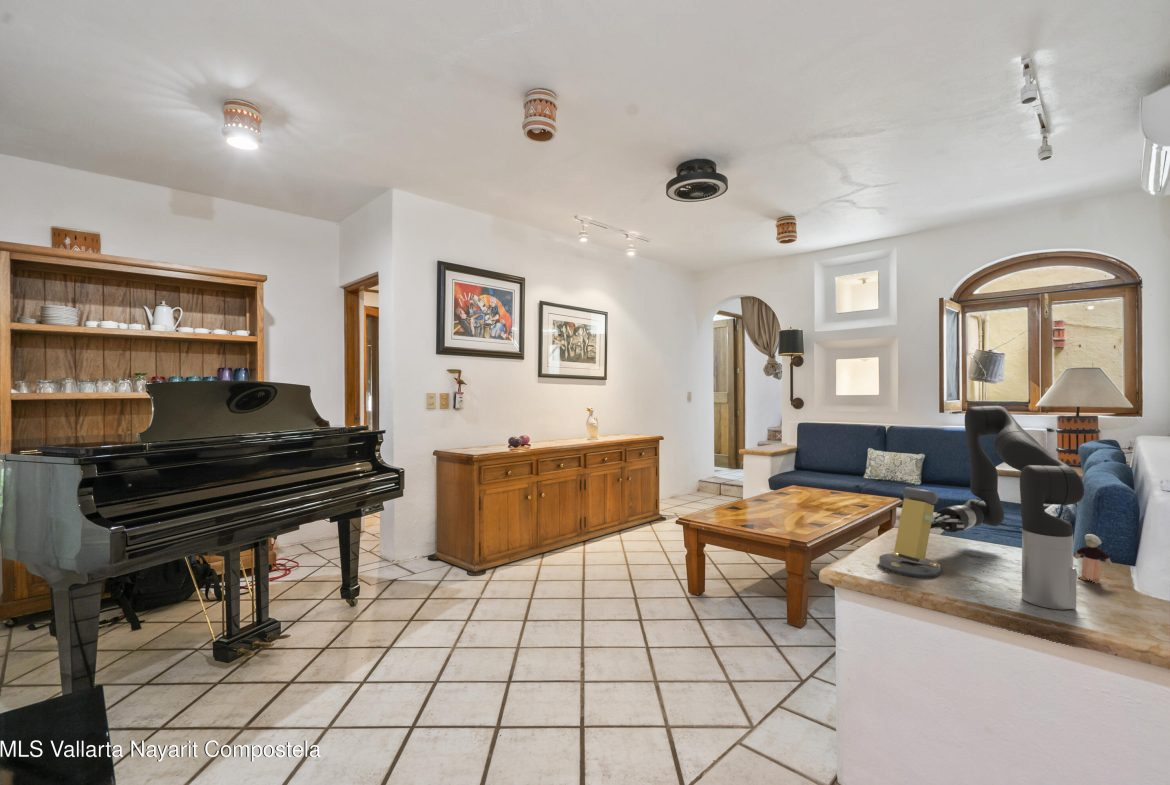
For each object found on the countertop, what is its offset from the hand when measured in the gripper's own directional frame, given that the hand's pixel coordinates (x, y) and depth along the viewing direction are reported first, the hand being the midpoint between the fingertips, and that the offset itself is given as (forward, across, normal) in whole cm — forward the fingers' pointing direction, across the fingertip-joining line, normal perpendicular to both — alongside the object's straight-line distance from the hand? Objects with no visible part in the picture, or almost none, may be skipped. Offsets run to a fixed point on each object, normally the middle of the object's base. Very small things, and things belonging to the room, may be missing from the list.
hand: (924, 525), depth 157 cm
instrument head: (+8, 0, +8) cm, 11 cm away
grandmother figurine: (-25, +30, +12) cm, 41 cm away
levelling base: (+8, 0, +12) cm, 14 cm away
